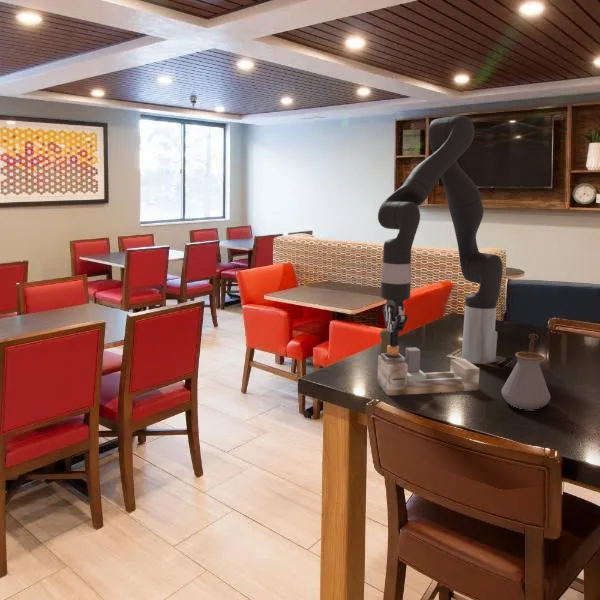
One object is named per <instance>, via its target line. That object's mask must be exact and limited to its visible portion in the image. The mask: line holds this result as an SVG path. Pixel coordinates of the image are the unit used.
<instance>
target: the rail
mask: <svg viewBox="0 0 600 600" xmlns="http://www.w3.org/2000/svg"><path fill="white" fill-rule="evenodd" d="M377 363H378V364H377V377H376V378H377V382H376V385H378V386H379V388H380V387H381V388H382V389H381V388H380V389H381V390H382V391H383V392H384V393H385V394H386V395H387V396H403V395H421V394H423V395H424V394H437V393H440V392H441V393H452V392H453V393H454V392H455V393H457V392H456V391H458V392H473V391H474V392H475V391H479V381H480V367H477V366H476V364H474V363H470V362H468V361H467V360H465V359H462V358H454V359H450V367H449V368H450V369H449V371H435V372H424V373H425V374H426V375H427V377H426V381H411V382H408V381H407V371H408V365H407V364H406V363H405V356H403V355H402V354H401V353H400V352H399V354H398V355H389V354H387V353H383V354H381V356H379V355H378V356H377ZM441 393H440V394H441Z"/></svg>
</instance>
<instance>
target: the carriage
mask: <svg viewBox="0 0 600 600" xmlns="http://www.w3.org/2000/svg"><path fill="white" fill-rule="evenodd" d="M404 358H405V363H406V364H407V365H408V371H407V381H408V382H411V381H426V377H427V375H426V374H425V373H426V372H424V371H422V370H421V369H420V366H421V350H420V349H419V348H418V347H417V346H416V347H405V352H404Z"/></svg>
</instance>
